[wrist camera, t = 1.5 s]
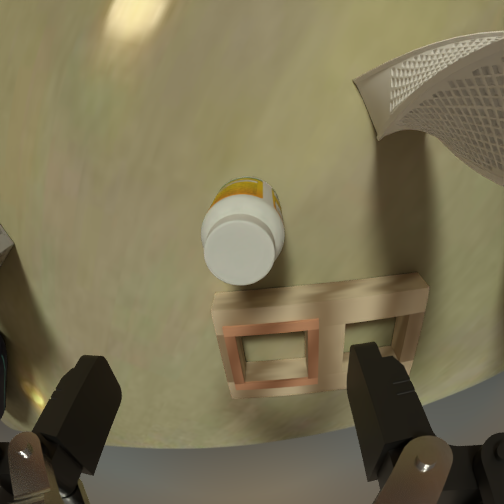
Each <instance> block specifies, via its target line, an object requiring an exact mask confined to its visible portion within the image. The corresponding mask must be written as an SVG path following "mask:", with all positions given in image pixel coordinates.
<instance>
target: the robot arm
mask: <svg viewBox="0 0 504 504" xmlns="http://www.w3.org/2000/svg"><path fill="white" fill-rule="evenodd" d="M346 382H347V394H348V399H349V403H350V407H351V411H352V415H353V419H354V423H355V427H356V431H357V436H358V440H359V444H360V449H361V453H362V457H363V462H364V467H365V471H366V476H367V480H368V482H369V481H374V480H378V481H379V486H380V491H379V493H378V495H377V497H376V498H375V500H374V502H373V503H372V504H504V433H497V434H494V435H492V436H491V437H489V438H488V439H487V440H486V442H485V443H484V444H483V445H473V446H452V445H448V444H447V443H446V442H445V441H444V440H442V439H440V438H438V437H436V435H435V434H434V433H433V431H432V429H431V427H430V424H429V422H428V419H427V417H426V414H425V412H424V410H423V407H422V405H421V402H420V400H419V398H418V396H417V393H416V392H415V389H414V387H413V384H412V382H411V381H410V378H409V376H408V373H407V371H406V369H405V367H404V365H403V364H401V363H400V362H399V361H398V360H397V359H396V358H395V357H394V356H393V355H392V356H387V357H382V355H381V353H380V350H379V348H378V346H377V344H376V343H375V342H370V343H363V344H356V345H351V347H350V353H349V362H348V371H347V381H346ZM121 398H122V392H121V388H120V385H119V383H118V381H117V380H116V378H115V376H114V374H113V372H112V370H111V368H110V366H109V364H108V362H107V360H106V359H105V358H104V357H103V356H92V355H83V356H82V357H81V358H80V359H79V361H78V362H77V364H76V366H75V367H74V368H72V369H71V370H70V371H69V372H68V373H67V374H65V375H64V376H63V377H62V379H61V380H60V382H59V384H58V385H57V387H56V391H54V392H53V394H52V396H51V399H49V401H48V403H47V405H46V406H45V408H44V410H43V412H42V414H41V415H40V417H39V419H38V421H37V423H36V425H35V427H34V428H33V430H32V432H29V431H26V432H21V433H19V434H17V435H16V436H15V437H14V438H13V439H12V440H11V442H0V486H1V487H0V504H90V502H89V499H88V497H87V494H86V491H85V489H84V486H83V483H82V481H81V480H80V479H79V477H80V474H81V473H85V474H89V475H94V473H95V470H96V467H97V464H98V461H99V458H100V456H101V453H102V450H103V447H104V445H105V442H106V439H107V437H108V434H109V431H110V429H111V426H112V424H113V421H114V418H115V416H116V413H117V411H118V408H119V406H120V403H121Z"/></svg>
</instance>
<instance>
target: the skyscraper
mask: <svg viewBox="0 0 504 504" xmlns="http://www.w3.org/2000/svg"><path fill="white" fill-rule="evenodd" d="M353 81H354V83H356V85H357V87H358V89H359V92H360V94H361V96H362V98H363V101H364V103H365V105H366V108H367V110H368V112H369V115H370V117H371V120H372V122H373V125H374V127H375V130H376V132H377V137H376V138H377V140H378V141H379V140H381V139H382V138H383V137H384V136H386V135H389V134H392V133H394V132H397V131H401V130H418V131H422V132H425V133H428V134H431V135H433V136H435V137H437V138H438V139H439V140H440V141H441V142H442V143H443V144H444V145H445V146H446V147H447V148H448V149H449V150H450V151H451V152H452V153H453V154H455V155H456V156H457V157H458V158H459V159H460V160H461V161H463V162H464V163H465V164H467V165H468V166H469V167H471V168H472V169H473V170H475V171H476V172H478V173H480V174H481V175H483V176H484V177H486V178H488V179H490V180H491V181H493V182H495V183H497V184H499V185H501V186H504V31H493V32H482V33H475V34H469V35H464V36H459V37H454V38H450V39H447V40H443V41H439V42H436V43H432V44H430V45H427V46H424V47H421V48H418V49H415V50H413V51H410V52H408V53H406V54H403V55H401V56H399V57H396V58H394V59H392V60H390V61H388V62H386V63H384V64H382V65H380V66H378V67H376V68H374V69H372V70H370V71H368V72H366V73H364V74H362V75H360V76H359V77H357V78H355V79H353Z"/></svg>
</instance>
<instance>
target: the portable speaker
mask: <svg viewBox="0 0 504 504" xmlns="http://www.w3.org/2000/svg"><path fill="white" fill-rule="evenodd" d="M6 377H7V352H6V346H5V342H4V340H3V338H2V336H1V335H0V419H1V418H2V416H3V413H4V411H5V407H6Z"/></svg>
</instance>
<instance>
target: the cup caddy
mask: <svg viewBox="0 0 504 504" xmlns="http://www.w3.org/2000/svg"><path fill="white" fill-rule="evenodd" d="M429 289H430V287H429V286H428V284H427V283H426V282H425V281H424V280H423V278H422V277H421V276H420V275H419V274H418V272H414V273H407V274H399V275H391V276H383V277H375V278H366V279H357V280H349V281H340V282H330V283H321V284H311V285H301V286H290V287H280V288H269V289H257V290H245V291H233V292H220V293H215V296H214V300H213V304H212V308H211V314H212V318H213V323H214V327H215V332H216V336H217V340H218V344H219V349H220V353H221V357H222V361H223V365H224V369H225V373H226V377H227V381H228V385H229V389H230V393H231V397H232V399H233V398H256V397H272V396H285V395H296V394H306V393H315V392H324V391H331V390H339V389H346V388H347V382H346V381H347V371H348V362H349V353H350V352H345V353H343V350H344V337H345V324H349V323H356V322H364V321H371V320H377V319H384V318H391V317H396V321H395V327H394V332H393V338H392V343H391V345H390V346H384V347H378V348H379V350H380V353H381V355H382V357H387V356H392V355H393V356H394V357H395V358H396V359H397V360H398V361H399V362H400V363H401V364H403V365H404V367H405V369H406V371H407V373H408V376H409V374H410V370H411V367H412V363H413V360H414V356H415V352H416V349H417V345H418V341H419V337H420V333H421V328H422V324H423V319H424V315H425V310H426V305H427V300H428V295H429ZM297 331H305V357H303V358H293V359H282V360H270V361H256V362H246V361H245V355H244V350H243V344H242V338H241V336H249V335H263V334H275V333H286V332H297Z"/></svg>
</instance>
